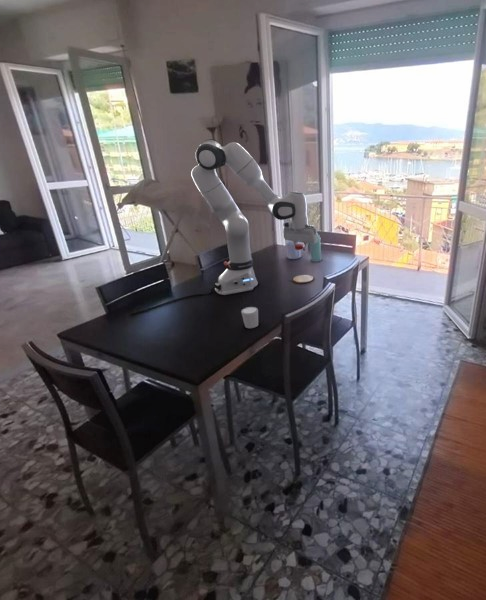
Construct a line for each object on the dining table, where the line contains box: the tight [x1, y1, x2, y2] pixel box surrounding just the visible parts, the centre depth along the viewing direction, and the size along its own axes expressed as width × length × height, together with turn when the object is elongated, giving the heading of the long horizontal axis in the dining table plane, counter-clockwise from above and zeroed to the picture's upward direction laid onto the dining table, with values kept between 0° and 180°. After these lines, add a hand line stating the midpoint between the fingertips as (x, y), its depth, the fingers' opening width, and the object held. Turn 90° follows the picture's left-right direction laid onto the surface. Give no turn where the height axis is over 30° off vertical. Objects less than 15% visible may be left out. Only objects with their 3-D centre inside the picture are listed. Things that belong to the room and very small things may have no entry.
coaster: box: [292, 274, 314, 284], centre depth 195 cm, size 11×11×1 cm
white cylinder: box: [240, 306, 259, 329], centre depth 148 cm, size 7×7×7 cm
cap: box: [295, 243, 304, 250], centre depth 186 cm, size 4×4×2 cm
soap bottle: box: [285, 219, 302, 260], centre depth 227 cm, size 9×9×25 cm
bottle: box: [309, 228, 322, 263], centre depth 222 cm, size 6×6×20 cm
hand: (301, 249), depth 188 cm, fingers closed on cap, 3 cm apart
